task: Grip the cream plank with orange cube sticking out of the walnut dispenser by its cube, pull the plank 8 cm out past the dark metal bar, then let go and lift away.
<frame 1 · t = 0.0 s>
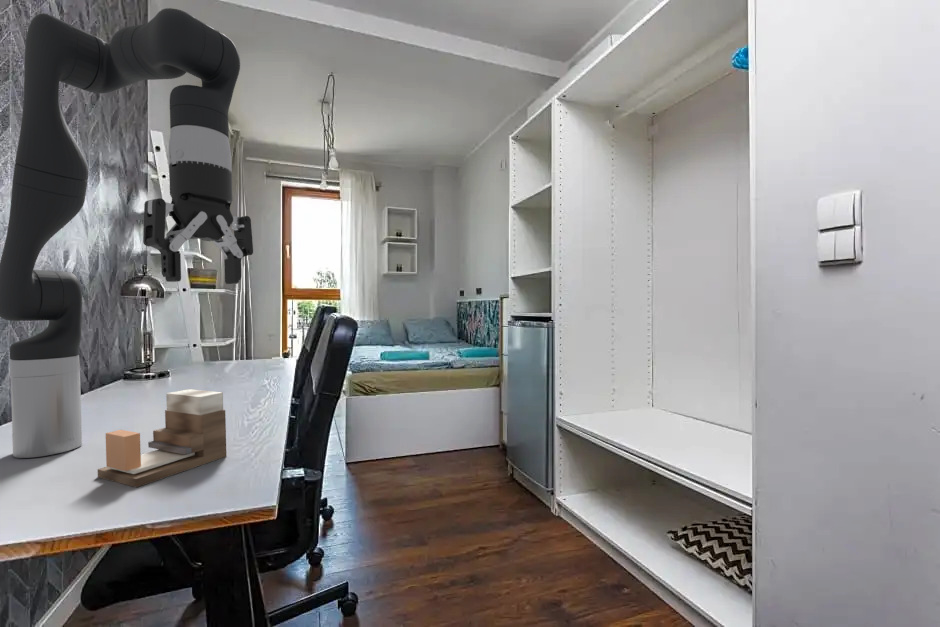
hand: (204, 282, 62), 29 cm above the table, tool pointing down, fingers open, 8 cm apart
plank with orange cube: (150, 444, 69), point 4 cm above the table, slide at 0.0 cm
dispenser: (172, 464, 72), on the table
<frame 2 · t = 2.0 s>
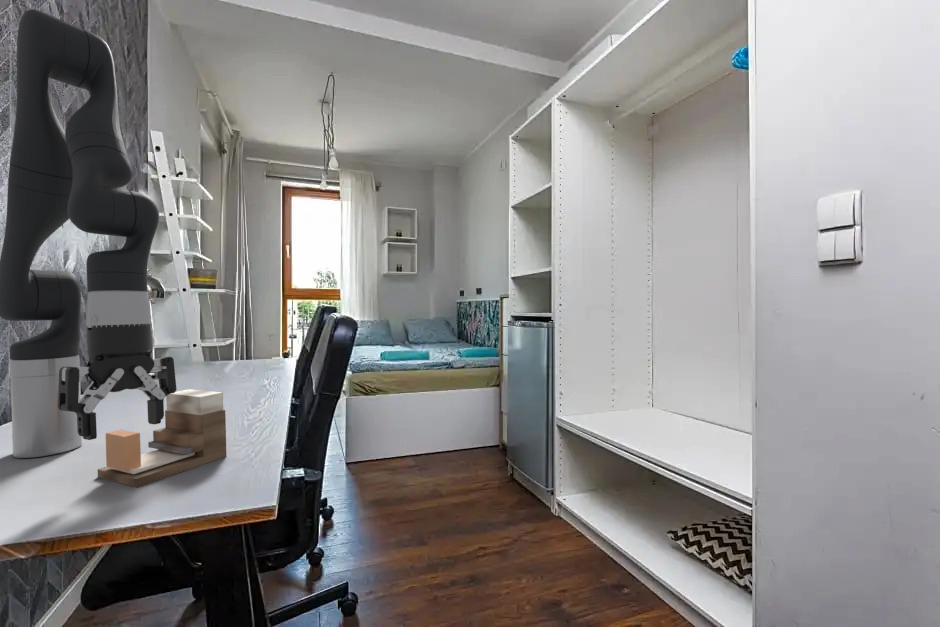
hand: (123, 430, 66), 7 cm above the table, tool pointing down, fingers open, 8 cm apart
nothing on the table moved.
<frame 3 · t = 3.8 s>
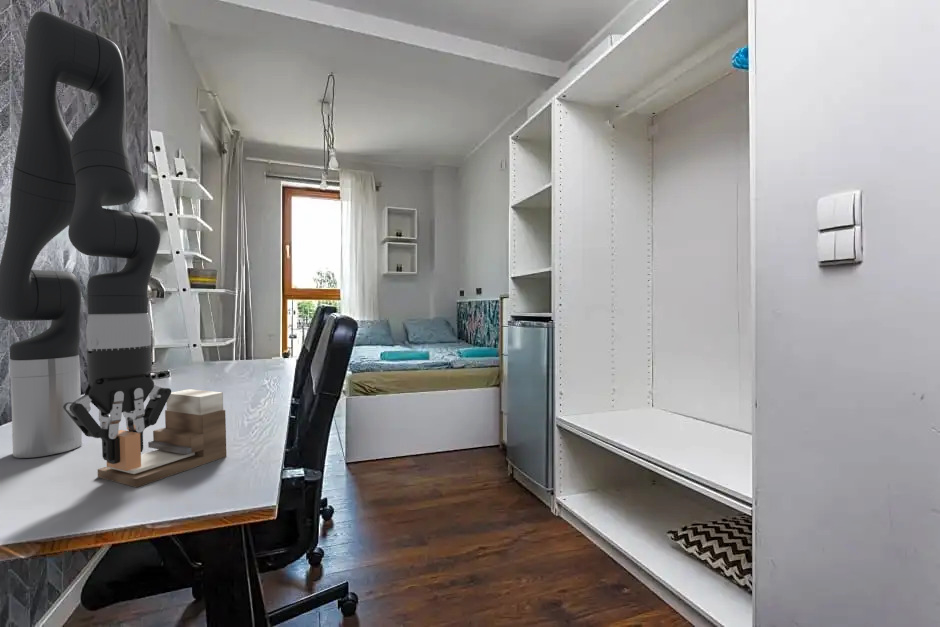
hand: (123, 459, 66), 3 cm above the table, tool pointing down, fingers closed on plank with orange cube, 2 cm apart
plank with orange cube: (150, 444, 69), point 4 cm above the table, slide at 0.0 cm, touching gripper
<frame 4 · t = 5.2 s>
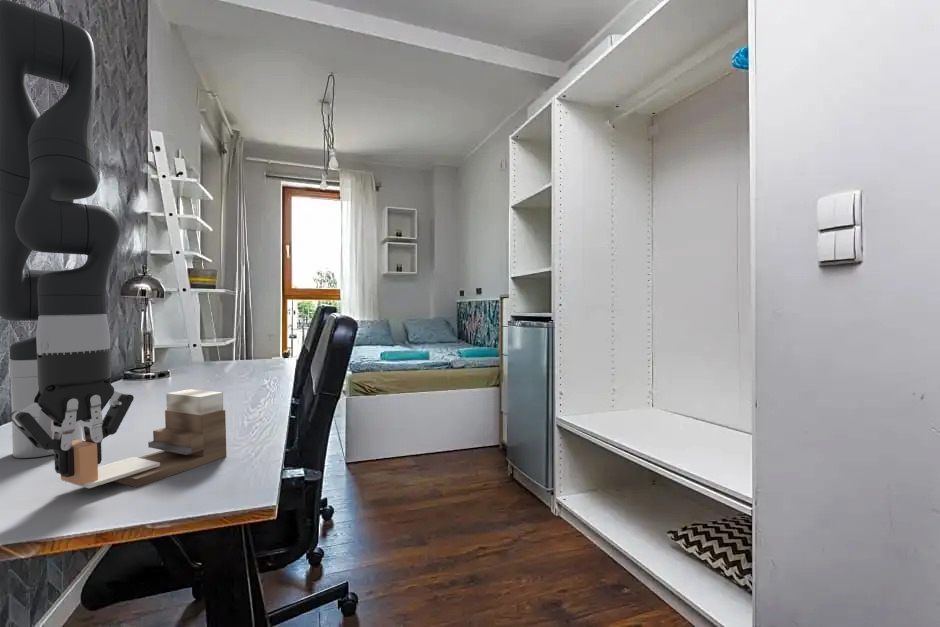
hand: (78, 472, 61), 3 cm above the table, tool pointing down, fingers closed on plank with orange cube, 2 cm apart
plank with orange cube: (110, 454, 64), point 4 cm above the table, slide at 5.4 cm, touching gripper
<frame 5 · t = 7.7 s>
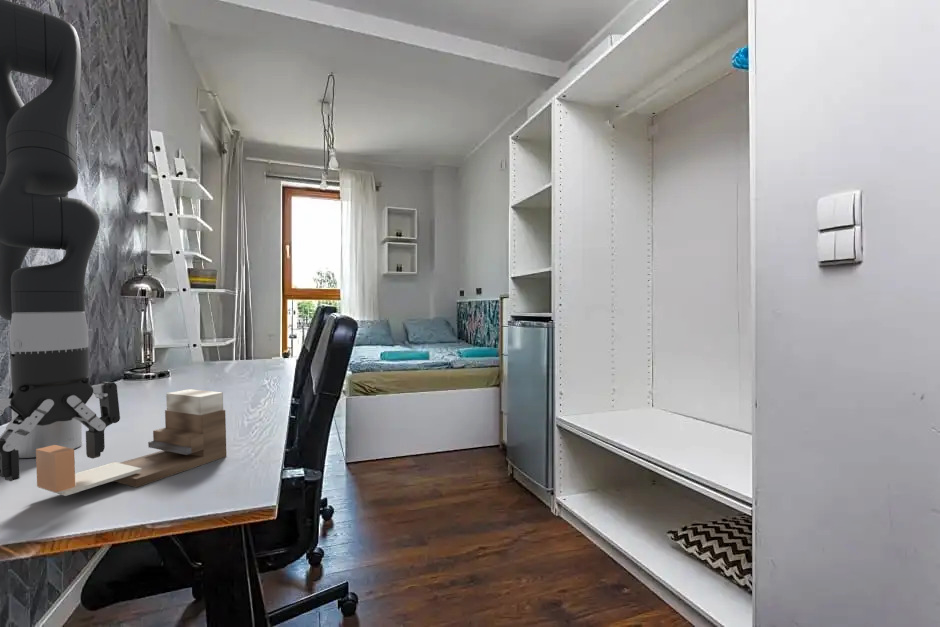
hand: (55, 467, 59), 5 cm above the table, tool pointing down, fingers open, 8 cm apart
plank with orange cube: (89, 460, 62), point 4 cm above the table, slide at 7.9 cm
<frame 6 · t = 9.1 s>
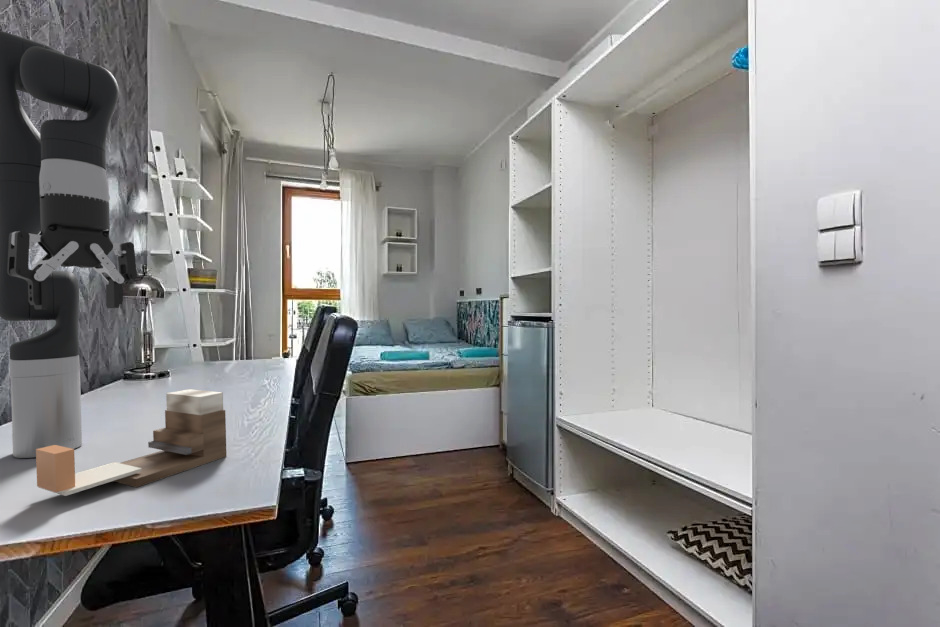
hand: (79, 308, 64), 26 cm above the table, tool pointing down, fingers open, 8 cm apart
nothing on the table moved.
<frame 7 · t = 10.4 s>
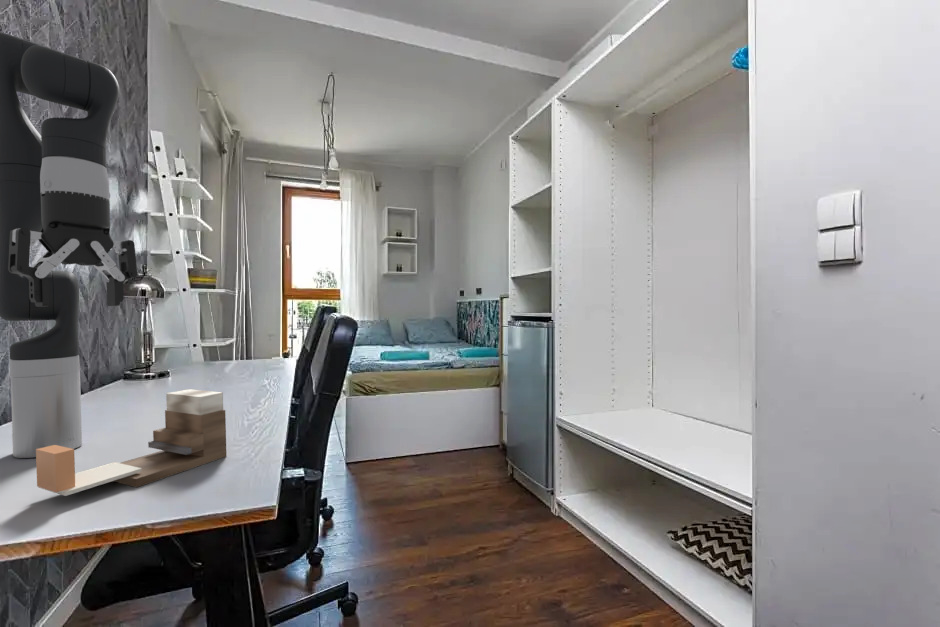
hand: (79, 306, 64), 26 cm above the table, tool pointing down, fingers open, 8 cm apart
nothing on the table moved.
at the end: plank with orange cube slide at 7.9 cm; the gripper is holding nothing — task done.
